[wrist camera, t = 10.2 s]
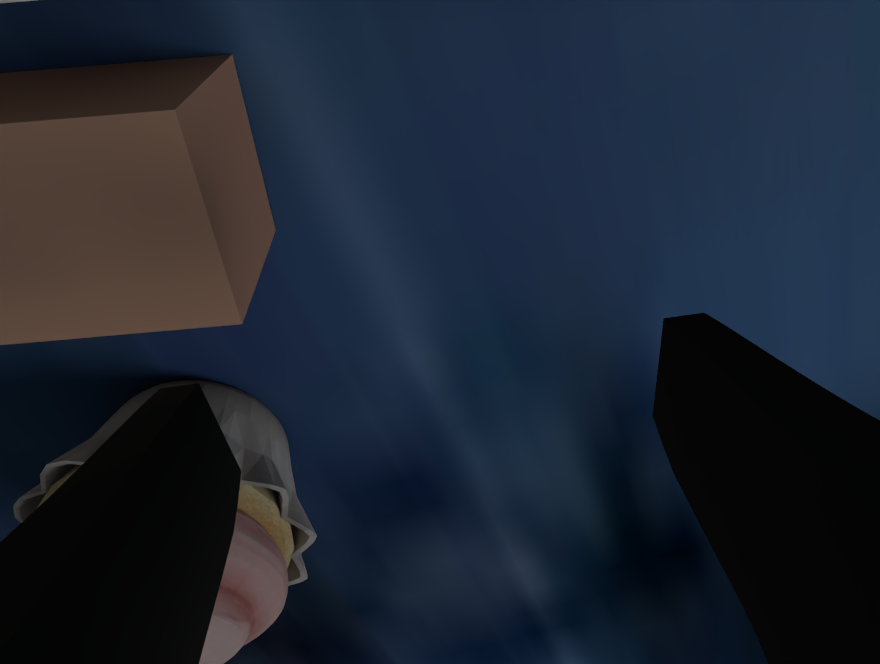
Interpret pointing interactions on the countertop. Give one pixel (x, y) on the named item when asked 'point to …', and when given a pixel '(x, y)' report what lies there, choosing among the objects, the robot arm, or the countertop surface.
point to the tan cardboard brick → (127, 200)
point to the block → (8, 0)
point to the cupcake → (257, 519)
